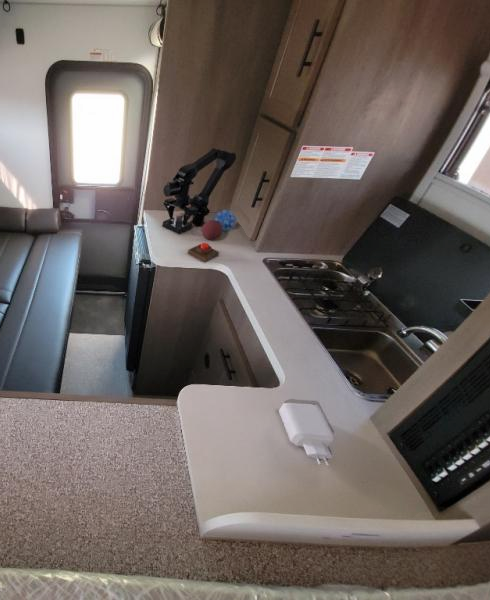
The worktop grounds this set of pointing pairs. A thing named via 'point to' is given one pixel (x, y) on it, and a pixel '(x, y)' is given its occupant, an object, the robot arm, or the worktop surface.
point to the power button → (204, 246)
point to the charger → (308, 429)
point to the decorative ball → (212, 230)
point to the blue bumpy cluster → (226, 219)
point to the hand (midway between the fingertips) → (177, 222)
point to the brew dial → (178, 219)
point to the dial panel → (176, 226)
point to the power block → (203, 253)
